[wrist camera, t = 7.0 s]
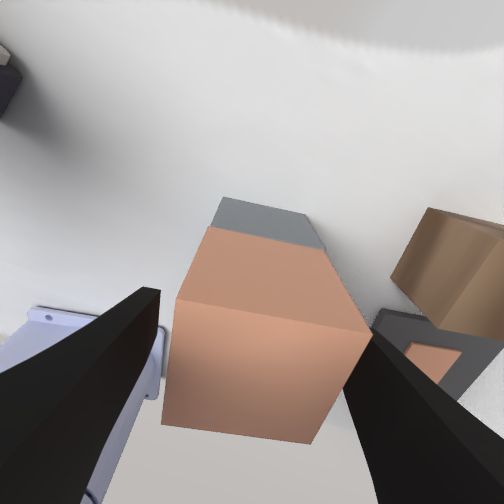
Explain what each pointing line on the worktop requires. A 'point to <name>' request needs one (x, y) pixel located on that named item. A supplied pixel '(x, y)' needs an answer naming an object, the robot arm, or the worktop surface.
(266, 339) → the terracotta block
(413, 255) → the walnut block
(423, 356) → the board
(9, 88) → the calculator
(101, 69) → the worktop surface
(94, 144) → the worktop surface
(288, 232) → the slate block
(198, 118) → the worktop surface
